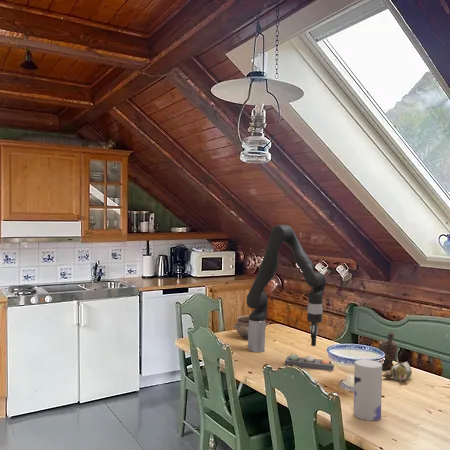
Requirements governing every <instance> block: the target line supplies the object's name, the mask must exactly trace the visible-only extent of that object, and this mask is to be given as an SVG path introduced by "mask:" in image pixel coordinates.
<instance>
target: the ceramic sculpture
mask: <svg viewBox="0 0 450 450" xmlns="http://www.w3.org/2000/svg"><path fill="white" fill-rule="evenodd" d="M412 373H413V370H412V368H411V366H410V363H409V361H405V362H402V361H397V362H396V363H394V364H393V366H392V368H391V370H386V371H385V372H384V373H383V374H382V378H383V377H384V378H386V379H390V378H393V380H395V381H399V382H401V383H404V382H406V380H407V379H409V378H410V377H412Z"/></svg>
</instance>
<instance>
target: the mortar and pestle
mask: <svg viewBox="0 0 450 450" xmlns="http://www.w3.org/2000/svg"><path fill="white" fill-rule="evenodd" d="M394 336H395V333H394V332H392V331H390V332H388V334H387V340H380V341H379V342H378V345H379V347H378V348H379V349H380V350H381V351H383V352H384V353H385V360H384V363H383V362H382V363H383V364H382V363H381V364H382V370H386V371H388V370H391V368H392V366H393V365H394V363H393V362H394V361H395V359H396V357H397V353H398V342H395V341H393V340H394V338H395V337H394ZM379 349H378V350H379Z"/></svg>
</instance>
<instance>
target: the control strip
mask: <svg viewBox="0 0 450 450" xmlns="http://www.w3.org/2000/svg"><path fill="white" fill-rule="evenodd" d="M322 360H323V359H320V358H314V363H312V362H306V357H300V356H298V361H293V360H290V355H287V356H286V358H285V360H284V367H287V366H286V365H295V366H298V367H297V368H303V369H312V370H321V371H322V370H323V371H329V370H332V371H331V372H333V371H334V369H333V368H335V364H334V365H333V364H332V363H331V361H332V360H331V361H330V360H329V359H328V360H329V361H330V364H322Z"/></svg>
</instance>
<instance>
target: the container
mask: <svg viewBox="0 0 450 450" xmlns="http://www.w3.org/2000/svg"><path fill="white" fill-rule="evenodd" d="M382 375H383V369H382V362H379V361H376V360H372V359H357V360H356V361H354V380H353V381H354V382H353V415H354V416H355V418H358V419H361V420H363V419H364V420H363V421H369V422H370V421H373V422H374V421H378V420H380V419H381V418H382V394H383V393H382V391H383V390H382V389H383V387H382V384H383V376H382Z"/></svg>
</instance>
